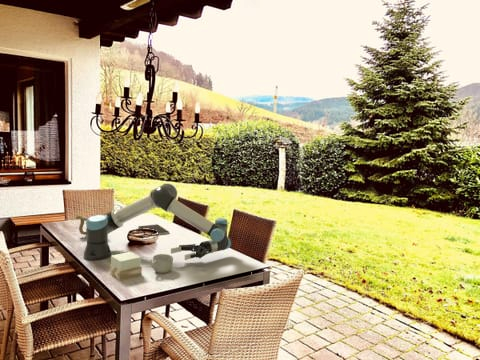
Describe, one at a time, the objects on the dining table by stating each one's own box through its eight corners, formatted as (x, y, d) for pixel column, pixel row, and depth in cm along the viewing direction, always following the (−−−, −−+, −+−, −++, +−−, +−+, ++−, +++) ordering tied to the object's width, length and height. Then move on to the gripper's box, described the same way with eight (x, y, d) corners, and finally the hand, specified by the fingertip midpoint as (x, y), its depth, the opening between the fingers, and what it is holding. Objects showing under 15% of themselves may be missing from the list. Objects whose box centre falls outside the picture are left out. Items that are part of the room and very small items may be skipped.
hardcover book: (148, 236, 274) (148, 233, 274) (137, 229, 293) (138, 226, 293) (169, 234, 282) (169, 231, 282) (158, 227, 302) (158, 224, 301)
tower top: (111, 264, 202) (111, 255, 202) (130, 260, 210) (130, 251, 209) (120, 271, 194) (120, 261, 194) (140, 266, 202) (140, 257, 201)
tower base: (109, 273, 203) (109, 264, 202) (130, 269, 211) (130, 260, 211) (119, 281, 194) (119, 271, 194) (141, 275, 202) (141, 266, 202)
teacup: (164, 266, 216) (164, 252, 215) (177, 271, 210) (177, 256, 209) (143, 272, 206) (143, 258, 205) (156, 278, 199) (156, 263, 198)
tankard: (108, 235, 271) (108, 214, 269) (100, 240, 259) (100, 218, 257) (81, 234, 273) (81, 213, 271) (71, 238, 260) (71, 217, 259)
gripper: (221, 258, 220) (191, 267, 205) (195, 248, 238) (165, 255, 223) (221, 246, 219) (191, 253, 204) (195, 236, 237) (165, 242, 223)
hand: (177, 254), depth 214 cm, fingers open, 13 cm apart
